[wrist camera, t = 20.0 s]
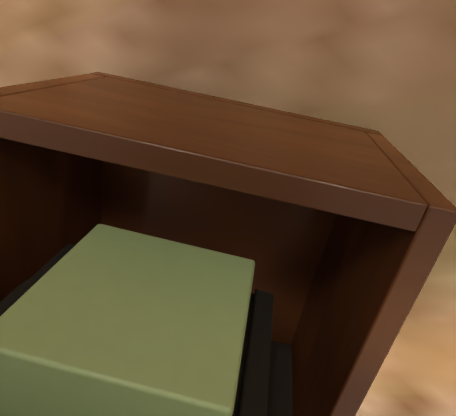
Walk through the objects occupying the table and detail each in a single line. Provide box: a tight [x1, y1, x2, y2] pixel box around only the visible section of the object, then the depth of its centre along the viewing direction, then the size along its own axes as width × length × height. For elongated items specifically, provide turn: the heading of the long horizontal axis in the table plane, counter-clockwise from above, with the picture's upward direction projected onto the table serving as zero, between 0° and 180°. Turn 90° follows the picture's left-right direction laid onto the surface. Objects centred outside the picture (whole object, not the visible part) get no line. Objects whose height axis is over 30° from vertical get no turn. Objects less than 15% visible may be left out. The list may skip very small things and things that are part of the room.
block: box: [0, 224, 255, 416], centre depth 9 cm, size 5×5×5 cm
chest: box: [0, 72, 456, 416], centre depth 16 cm, size 16×14×9 cm
